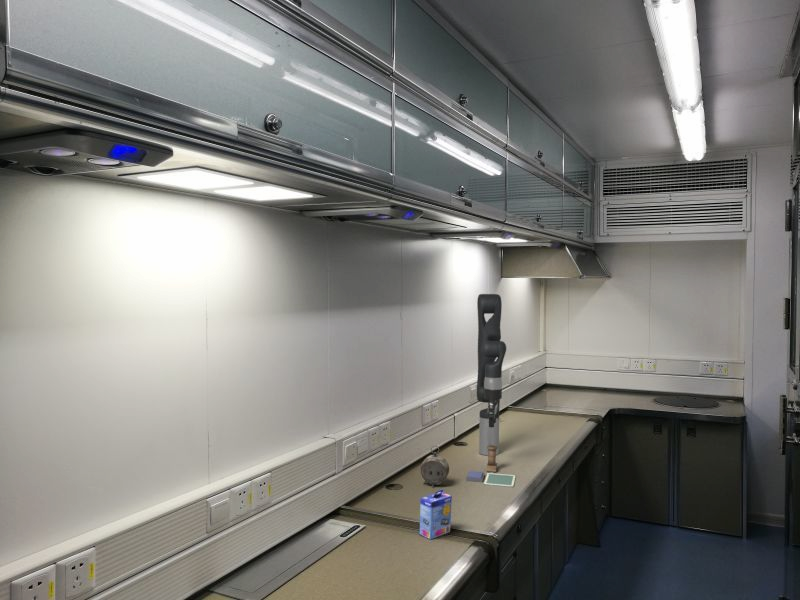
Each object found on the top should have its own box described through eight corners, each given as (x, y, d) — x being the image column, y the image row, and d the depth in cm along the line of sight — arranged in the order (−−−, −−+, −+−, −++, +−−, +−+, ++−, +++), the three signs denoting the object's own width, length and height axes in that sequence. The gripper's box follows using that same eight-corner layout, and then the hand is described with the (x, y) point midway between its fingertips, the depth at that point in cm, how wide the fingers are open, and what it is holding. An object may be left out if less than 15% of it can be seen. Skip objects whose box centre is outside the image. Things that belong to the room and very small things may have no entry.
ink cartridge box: (431, 540, 198) (431, 494, 198) (418, 535, 202) (419, 490, 202) (451, 532, 205) (452, 487, 205) (439, 527, 209) (439, 483, 209)
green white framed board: (487, 473, 267) (487, 472, 267) (515, 476, 264) (515, 475, 264) (483, 484, 253) (483, 483, 253) (513, 487, 250) (513, 486, 250)
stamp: (487, 468, 275) (487, 444, 275) (497, 469, 274) (497, 445, 274) (485, 472, 270) (486, 448, 269) (496, 473, 269) (496, 448, 268)
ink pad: (468, 474, 266) (468, 470, 266) (484, 475, 264) (484, 471, 264) (466, 480, 258) (466, 476, 258) (482, 482, 256) (482, 477, 256)
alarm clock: (449, 485, 252) (449, 444, 251) (446, 489, 246) (447, 448, 246) (422, 482, 255) (422, 442, 254) (419, 486, 249) (419, 446, 249)
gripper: (486, 384, 279) (485, 421, 279) (482, 389, 265) (481, 428, 265) (503, 385, 277) (502, 422, 277) (500, 390, 263) (499, 429, 264)
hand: (492, 425), depth 271 cm, fingers open, 8 cm apart
